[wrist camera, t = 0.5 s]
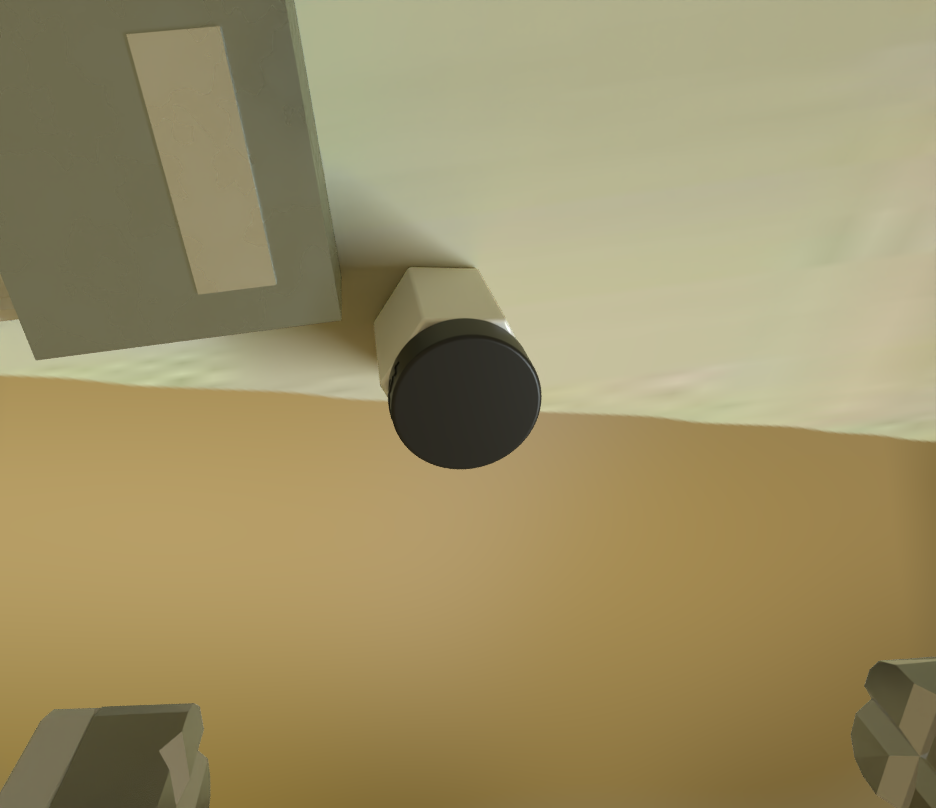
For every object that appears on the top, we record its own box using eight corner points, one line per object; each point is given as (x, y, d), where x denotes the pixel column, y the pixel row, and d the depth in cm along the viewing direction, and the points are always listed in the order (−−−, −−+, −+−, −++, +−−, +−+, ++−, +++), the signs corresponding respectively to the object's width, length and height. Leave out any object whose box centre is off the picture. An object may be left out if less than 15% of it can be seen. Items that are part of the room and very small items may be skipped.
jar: (352, 295, 46) (356, 376, 36) (464, 236, 45) (501, 300, 35) (417, 401, 50) (437, 499, 40) (519, 348, 50) (567, 435, 39)
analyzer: (-35, -8, 36) (-122, -15, 29) (288, -34, 37) (276, -46, 30) (81, 309, 44) (34, 361, 37) (341, 277, 45) (341, 321, 39)
